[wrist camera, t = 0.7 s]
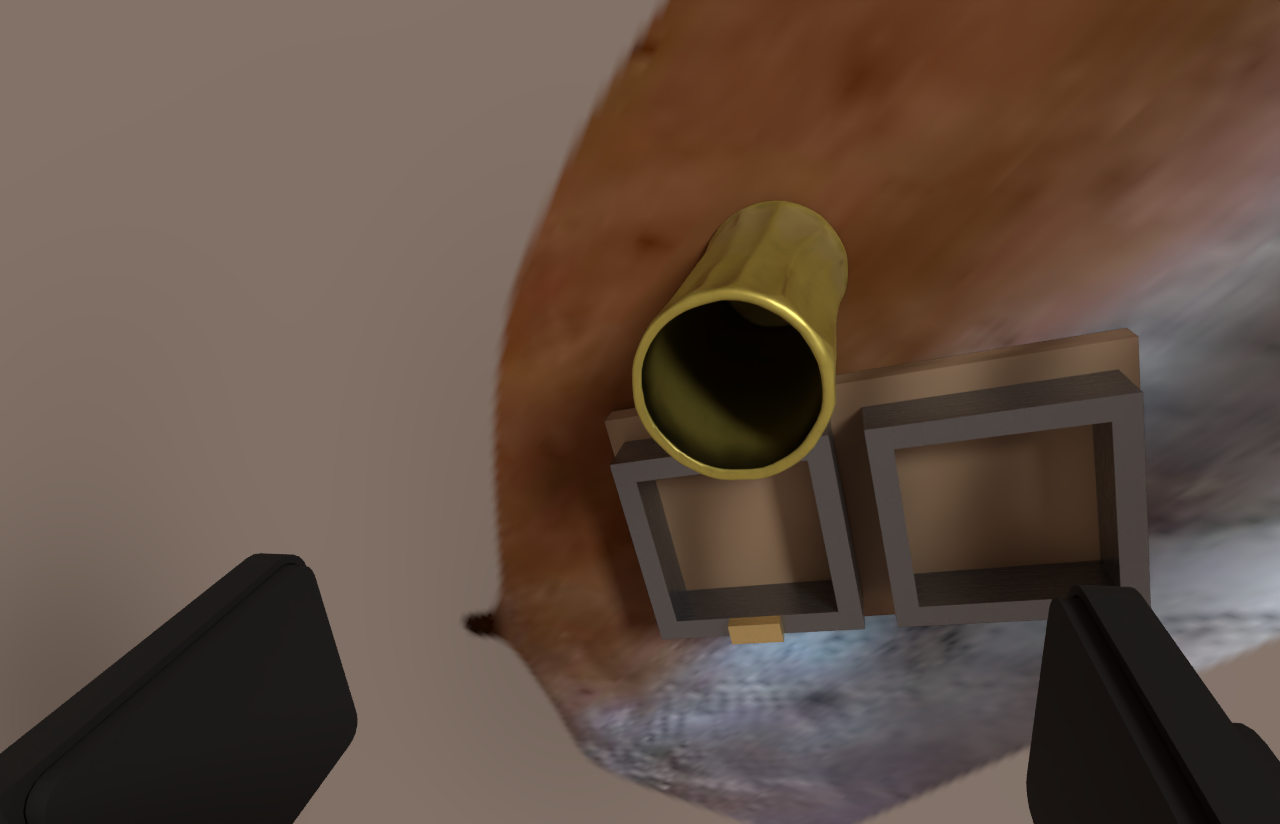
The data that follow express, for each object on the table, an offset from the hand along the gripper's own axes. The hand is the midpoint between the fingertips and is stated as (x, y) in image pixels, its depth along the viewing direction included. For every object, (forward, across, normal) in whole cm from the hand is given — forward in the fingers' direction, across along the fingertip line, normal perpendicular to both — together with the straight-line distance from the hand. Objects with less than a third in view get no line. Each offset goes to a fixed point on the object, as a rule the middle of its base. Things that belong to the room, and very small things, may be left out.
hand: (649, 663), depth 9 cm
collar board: (+24, -4, +10) cm, 27 cm away
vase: (+24, -1, 0) cm, 25 cm away
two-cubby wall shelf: (+23, -4, +10) cm, 26 cm away
